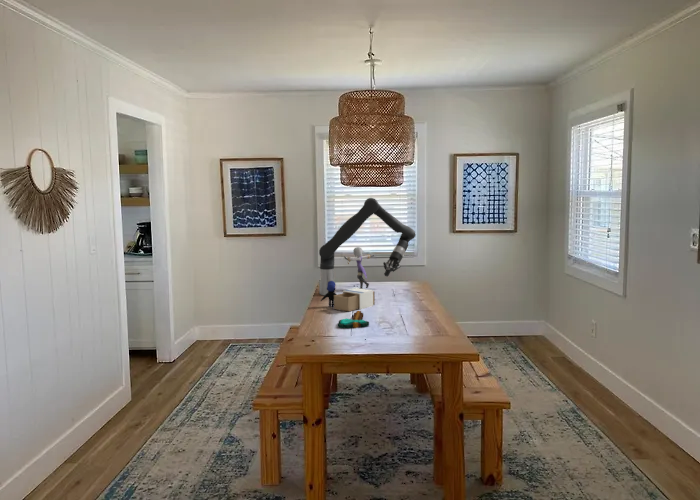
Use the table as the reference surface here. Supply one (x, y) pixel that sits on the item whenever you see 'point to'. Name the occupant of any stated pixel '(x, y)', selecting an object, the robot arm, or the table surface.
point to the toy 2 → (353, 321)
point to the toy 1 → (330, 292)
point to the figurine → (361, 270)
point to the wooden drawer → (348, 301)
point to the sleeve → (362, 297)
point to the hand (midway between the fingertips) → (385, 275)
